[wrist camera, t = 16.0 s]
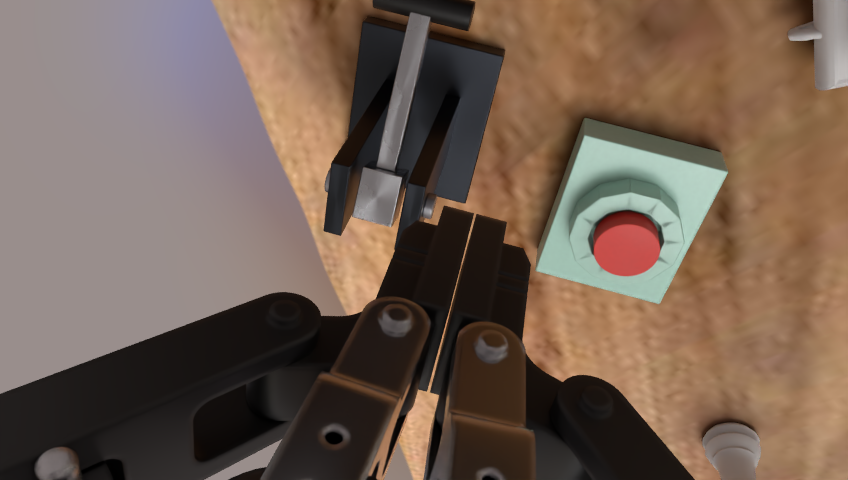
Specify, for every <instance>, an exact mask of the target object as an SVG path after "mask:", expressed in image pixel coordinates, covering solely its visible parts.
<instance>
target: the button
mask: <svg viewBox="0 0 848 480" xmlns="http://www.w3.org/2000/svg"><path fill="white" fill-rule="evenodd" d="M593 248H594V257H595V259H596V261H597V263H598V264H599V265H600V267H601V268H603V269H604V270H605V271H607V272H609V273H611V274H614V275H618V276H635V275H638V274H641V273H644V272H645V271H647V270H649V269H650V268H651V267H652V266H653V265H654V264H655V263H656V261H657V260H658V258H659V255H660V242H659V236H658V231H657V228H656V226H655V224H654V223H653V222H652V221H651V220H650V219H649V218H648V217H646V216H644V215H642V214H640V213H637V212H631V211H623V212H617V213H614V214H611V215H609V216H607V217H606V218H604V219H603V220H602V221H601V222H600V223H599V224H598V225H597V227H596V229H595V231H594V236H593Z"/></svg>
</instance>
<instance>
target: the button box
mask: <svg viewBox="0 0 848 480" xmlns="http://www.w3.org/2000/svg"><path fill="white" fill-rule="evenodd" d="M727 174H728V170H727V167H726V164H725V161H724V159H723V156H722V153H721V152H718V151H714V150H710V149H706V148H702V147H698V146H694V145H691V144H687V143H683V142H679V141H675V140H671V139H667V138H663V137H659V136H655V135H651V134H647V133H643V132H639V131H635V130H632V129H628V128H624V127H620V126H616V125H612V124H608V123H604V122H600V121H596V120H592V119H588V118H584V120H583V123H582V125H581V128H580V131H579V134H578V137H577V139H576V142H575V145H574V148H573V151H572V154H571V156H570V159H569V162H568V165H567V168H566V171H565V173H564V176H563V179H562V182H561V185H560V187H559V190H558V193H557V196H556V199H555V202H554V204H553V207H552V210H551V213H550V216H549V218H548V221H547V224H546V227H545V230H544V233H543V235H542V238H541V241H540V244H539V247H538V250H537V259H536V269H535V270H536V271H538V272H541V273H545V274H549V275H553V276H556V277H560V278H564V279H568V280H571V281H575V282H579V283H583V284H586V285H590V286H594V287H598V288H601V289H605V290H609V291H612V292H616V293H620V294H624V295H627V296H631V297H635V298H639V299H642V300H646V301H650V302H654V303H657V304H660V302H661V300H662V298H663V296H664V294H665V292H666V291H667V289H668V287H669V285H670V283H671V281H672V279H673V277H674V275H675V273H676V271H677V269H678V267H679V266H680V264H681V262H682V260H683V258H684V256H685V254H686V252H687V250H688V248H689V246H690V244H691V243H692V241H693V239H694V237H695V235H696V233H697V231H698V229H699V227H700V225H701V223H702V221H703V220H704V218H705V216H706V214H707V212H708V210H709V208H710V206H711V204H712V202H713V200H714V198H715V197H716V195H717V193H718V191H719V189H720V187H721V185H722V183H723V181H724V179H725V177H726V175H727ZM623 211H631V212H637V213H640V214H642V215H644V216H646V217H648V218H649V219H650V220H651V221H652V222H653V223H654V224H655V226H656V228H657V231H658V236H659V242H660V255H659V258H658V260H657V261H656V263H655V264H654V265H653V266H652V267H651V268H650V269H649V270H647V271H645V272H644V273H641V274H638V275H635V276H618V275H614V274H611V273H609V272H607V271H605V270H604V269H603V268H601V267H600V265H599V264H598V263H597V261H596V259H595V257H594V248H593V236H594V231H595V229H596V227H597V225H598V224H599V223H600V222H601V221H602V220H603V219H604V218H606V217H607V216H609V215H611V214H614V213H617V212H623Z"/></svg>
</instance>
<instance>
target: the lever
mask: <svg viewBox="0 0 848 480" xmlns="http://www.w3.org/2000/svg"><path fill="white" fill-rule="evenodd" d="M373 7H374V8H377V9H381V10H385V11H389V12H393V13H397V14H401V15H405V16H409V19H408V24H407V28H406V33H405V37H404V42H403V46H402V50H401V55H400V59H399V64H398V68H397V73H396V77H395V82H394V86H393V91H392V95H391V100H390V104H389V109H388V113H387V118H386V122H385V127H384V131H383V136H382V140H381V145H380V149H379V154H378V158H377V162H376V161H370V162H369V163H368V164H366V165H365V166H364V167H363V168H362V172H361V177H360V182H359V186H358V191H357V195H356V200H355V205H354V209H353V214H352V217H355V218H358V219H362V220H366V221H370V222H373V223H377V224H381V225H385V226H388V227H391V226H392V225H393V224H394V222H395V221H396V219H397V218H398V216H399V212H400V207H401V203H402V199H403V195H404V191H405V186H406V182H407V178H408V174H409V170H406V169H402V168H398V166H399V162H400V158H401V154H402V149H403V145H404V141H405V136H406V132H407V128H408V123H409V119H410V115H411V111H412V106H413V102H414V98H415V93H416V89H417V85H418V81H419V76H420V72H421V68H422V63H423V59H424V55H425V50H426V46H427V42H428V38H429V33H430V29H431V25H432V22H433V23H437V24H441V25H445V26H449V27H453V28H457V29H461V30H465V31H468V30H469V28H470V25H471V22H472V18H473V14H474V9H475V2H474V1H469V0H373Z"/></svg>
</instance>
